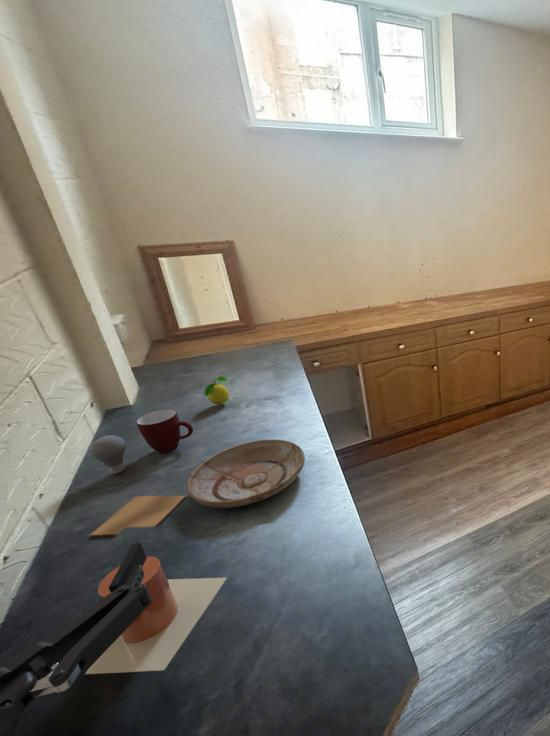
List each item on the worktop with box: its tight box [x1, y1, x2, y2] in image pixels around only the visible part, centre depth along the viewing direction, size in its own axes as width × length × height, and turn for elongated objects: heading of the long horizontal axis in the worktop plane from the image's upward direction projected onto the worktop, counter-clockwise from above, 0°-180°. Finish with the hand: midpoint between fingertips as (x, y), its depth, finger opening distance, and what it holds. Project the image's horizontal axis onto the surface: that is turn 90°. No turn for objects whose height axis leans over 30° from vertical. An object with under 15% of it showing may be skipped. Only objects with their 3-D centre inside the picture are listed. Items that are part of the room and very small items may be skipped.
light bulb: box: [90, 434, 127, 475], centre depth 96 cm, size 6×6×10 cm
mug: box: [136, 408, 194, 454], centre depth 106 cm, size 10×8×10 cm
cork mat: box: [89, 495, 187, 538], centre depth 85 cm, size 11×11×1 cm
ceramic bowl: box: [186, 438, 306, 509], centre depth 94 cm, size 23×24×5 cm
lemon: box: [204, 376, 230, 406], centre depth 128 cm, size 7×6×10 cm
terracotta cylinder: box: [97, 556, 178, 643], centre depth 62 cm, size 7×7×10 cm
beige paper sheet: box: [85, 577, 228, 675], centre depth 64 cm, size 15×15×1 cm
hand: (69, 568), depth 48 cm, fingers open, 13 cm apart
